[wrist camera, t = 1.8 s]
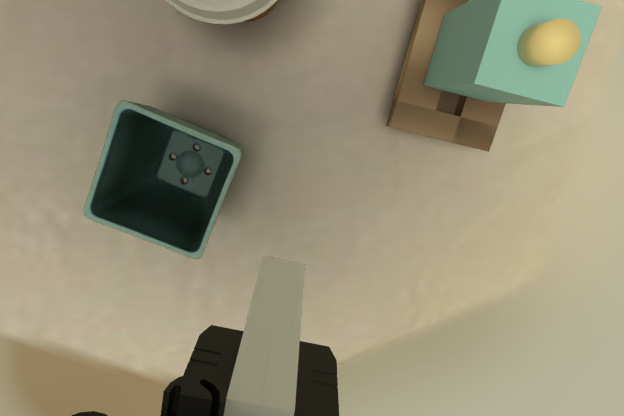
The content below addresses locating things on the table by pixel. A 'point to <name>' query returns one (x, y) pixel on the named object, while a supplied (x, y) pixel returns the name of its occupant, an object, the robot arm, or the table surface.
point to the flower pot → (161, 179)
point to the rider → (512, 50)
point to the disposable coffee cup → (224, 10)
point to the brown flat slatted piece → (438, 91)
